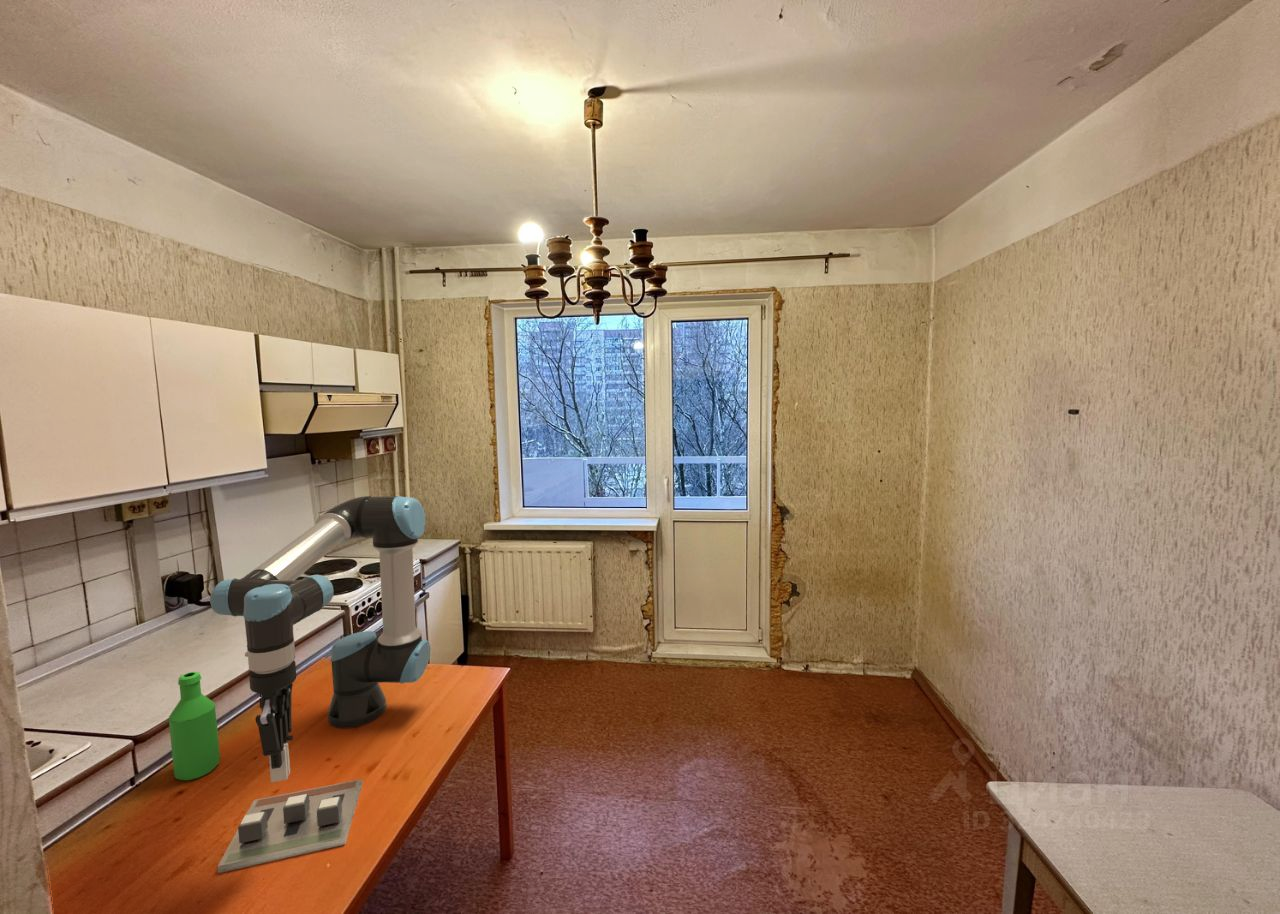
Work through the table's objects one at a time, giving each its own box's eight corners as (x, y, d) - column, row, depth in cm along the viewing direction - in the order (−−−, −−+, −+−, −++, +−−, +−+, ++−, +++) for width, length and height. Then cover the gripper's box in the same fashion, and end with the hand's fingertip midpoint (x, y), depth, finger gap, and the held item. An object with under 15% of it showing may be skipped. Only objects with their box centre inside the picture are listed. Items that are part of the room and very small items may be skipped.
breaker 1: (245, 831, 110) (243, 814, 109) (267, 827, 111) (266, 810, 110) (239, 843, 107) (237, 825, 106) (262, 838, 108) (261, 820, 108)
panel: (254, 806, 119) (253, 799, 119) (362, 784, 126) (361, 778, 126) (218, 873, 102) (217, 865, 102) (345, 844, 109) (344, 837, 109)
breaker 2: (288, 813, 115) (287, 796, 114) (309, 809, 116) (308, 792, 115) (284, 823, 112) (282, 806, 111) (305, 819, 113) (304, 802, 113)
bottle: (227, 764, 133) (219, 670, 130) (186, 787, 125) (177, 687, 122) (208, 754, 137) (200, 663, 134) (166, 776, 129) (157, 679, 126)
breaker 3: (321, 816, 114) (320, 799, 114) (342, 811, 115) (341, 795, 115) (317, 826, 111) (316, 809, 111) (339, 822, 112) (337, 805, 112)
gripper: (263, 652, 108) (271, 759, 111) (234, 686, 95) (244, 806, 98) (304, 647, 110) (311, 752, 113) (282, 679, 98) (291, 797, 100)
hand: (280, 777), depth 105 cm, fingers closed
